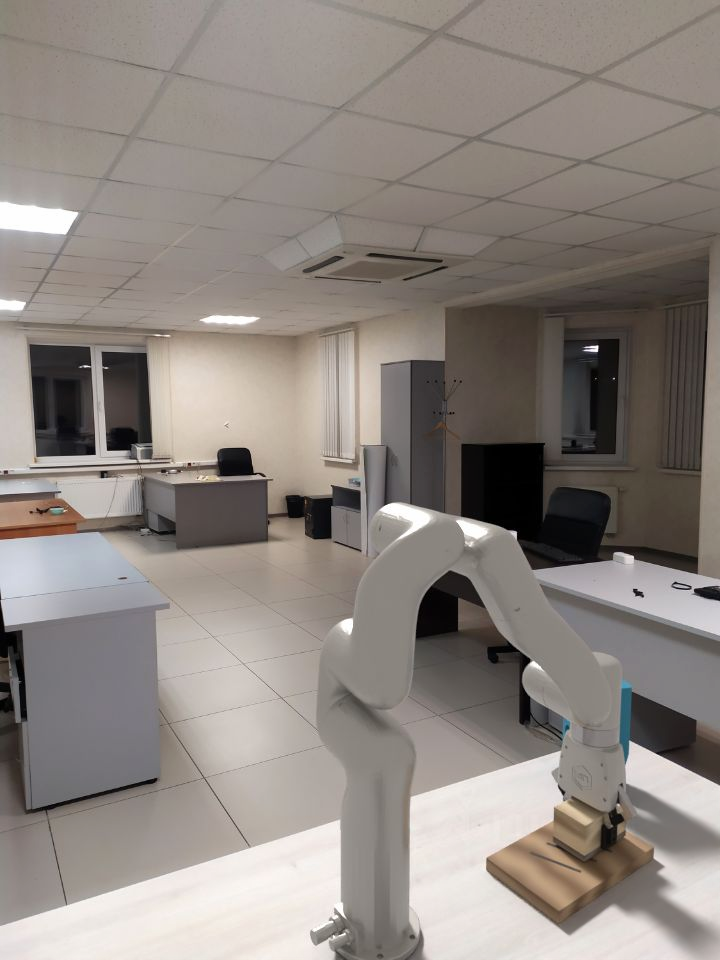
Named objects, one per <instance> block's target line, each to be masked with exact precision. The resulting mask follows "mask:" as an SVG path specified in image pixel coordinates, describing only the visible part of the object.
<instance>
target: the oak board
mask: <svg viewBox="0 0 720 960" xmlns="http://www.w3.org/2000/svg"><path fill="white" fill-rule="evenodd" d="M553 823H554V820H552V821H550V822H548V823H546V824H545V825H543V826H541V827H540V828H537V829H535V830H534V831H532V832H531V833H529V834H527V835H525V836H523V837H521V838H520V839H517V840H515V841H514V842H512V843H511V844H509V845H507V846H505V847H504V848H501V849H499V850H498V851H495V852H494V853H493V854H490V855H488V856H487V857H486V859H485V870H486V871H488V873H490V874H491V875H493V876H494V877H495V878H497V879H498V880H499V881H501V882H502V883H503V884H505V886H507V887H509V888H510V889H512V890H513V892H515V893H517V894H518V895H520V897H521V898H523V899H524V900H526V901H527V902H528V903H530V904H531V905H533V907H535V908H536V909H538V910H539V911H540V912H542V913H543V914H545V915H546V916H547V917H548V918H549V919H551V920H552V921H554V922H555V923H556V924H557V925H559V924H561V923H562V922H564V921H565V920H567V919H569V918H570V917H571V916H573V915H574V914H575V913H577V912H579V910H581V909H583V908H584V907H586V906H587V905H588V904H590V903H591V902H592V901H594V900H595V899H597V898H598V897H599V896H601V895H603V894H604V893H606V892H607V891H609V890H610V889H611V888H613V887H614V886H616V885H617V884H618V883H620V882H622V881H623V880H625V879H626V878H627V877H628V876H630V875H632V874H633V873H634V872H636V871H637V870H639V869H641V868H642V867H643V866H645V865H646V864H648V863H649V862H650V861H652V860H654V857H655V846H653V845H652V844H650V843H648V842H646V841H645V840H643V839H641V838H639V837H637V836H635V835H634V834H632V833H631V832H629V831H627V830H626V836H624V837H622V838H621V839H619V840H618V841H617V842H616V843H615V844H614V845H613V846H611V847H609V848H608V849H606V850H602V851H600V852H599V853H597V854H596V855H594V856H593V857H591V858H589V859H588V860H586V861H585V862H584V861H582V860H581V859H579V858H578V857H576V856H574V855H573V854H571V853H570V852H568V851H567V850H565V849H563V848H562V847H560V846H559V845H557V844H556V843H554V842H553Z"/></svg>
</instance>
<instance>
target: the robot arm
mask: <svg viewBox="0 0 720 960" xmlns="http://www.w3.org/2000/svg"><path fill="white" fill-rule="evenodd" d="M369 539H370V542H371V544H372V546H373V548H374V549H375V551H376V552H378V554H379V555H378V556H376V557H375V558H374V560H373V561H372V562H371V564H370V565H369V566H368V567H367V569H366V570H365V572H364V573H363V574H362V576H361V579H360V581H359V584H358V586H357V589H356V594H355V601H354V608H353V615H352V617H350V618H345V619H343V620H341V621H340V622H338V623H336V624H335V625H334V626H332V628H331V629H330V630H329V631H328V633H327V634H326V636H325V638H324V639H323V643H322V645H321V647H320V648H321V649H320V653H319V660H318V662H319V663H318V677H317V692H316V710H315V711H316V712H315V721H316V722H315V723H316V730H317V735H318V737H319V739H320V741H321V743H322V744H323V746H324V747H325V749H326V750H327V751H328V752H329V753H330V754H331V756H332V757H333V758H334V759H335V760H336V762H337V763H338V764H339V766H341V768H342V770H343V771H344V774H345V777H346V786H345V790H344V793H343V796H342V799H341V802H340V804H341V805H340V813H339V814H340V818H339V821H340V822H339V827H340V828H339V829H340V830H339V831H340V902H338V903H337V904H334V905H333V911H334V912H333V913H332V914H331V916H330V917H328V922H326V923H322V924H319V925H318V926H315V927H314V928H312V929H310V930H309V936H310V939H311V942H312V943H313V945H314V946H316V947H317V946H318V945H320V944H322V943H324V942H326V941H327V940H328V946H329V949H330V950H331V951H332V952H337V953H339V955H340V956H341V957H343V958H344V959H346V960H406V959H408V958H409V957H410V956H411V955H412V954H413V953H414V952H415V951H416V949H417V947H418V945H419V943H420V940H421V923H420V919H419V917H418V914H417V912H416V911H415V910H414V909H413V907H412V906H411V905H410V887H411V886H410V883H411V882H410V878H411V876H410V868H411V867H410V866H411V863H410V862H411V861H410V860H411V858H410V857H411V852H410V851H411V824H410V823H411V797H412V791H413V784H414V780H415V775H416V769H417V764H418V753H417V752H418V751H417V747H416V744H415V742H414V740H413V738H412V736H411V734H410V732H409V731H408V730H407V729H406V727H405V726H404V725H403V724H402V722H400V720H398V719H397V718H395V716H393V715H392V714H391V713H390V712H388V710H392V709H395V708H398V707H399V706H400V705H402V704H403V702H404V701H405V700H406V699H407V697H408V696H409V693H410V690H411V687H412V682H413V674H414V663H415V661H414V660H415V648H416V636H417V635H416V633H417V631H416V630H417V622H418V615H419V609H420V605H421V603H422V600H423V598H424V596H425V594H426V593H427V591H428V590H429V589H430V588H431V586H433V585H434V583H435V582H436V581H437V580H439V579H440V578H442V576H444V575H445V574H446V573H448V572H449V571H451V572H454V573H457V574H459V575H462V576H465V577H467V578H468V579H469V580H470V581H471V583H472V585H473V587H474V588H475V590H476V593H477V594H478V595H479V597H480V599H481V601H482V603H483V605H484V607H485V609H486V610H487V612H488V614H489V616H490V619H491V620H492V622H493V624H494V625H495V627H496V629H497V630H498V632H499V633H500V634H501V635H502V636H503V637H504V638H505V639H506V640H507V641H508V642H509V643H510V644H511V645H512V646H513V647H514V648H516V650H519V652H521V653H522V654H523V655H525V656H526V657H527V658H529V659H530V660H531V661H530V662H529V663H528V664H527V665H526V666H525V667H524V670H523V672H522V678H521V683H522V686H523V688H524V690H525V692H526V693H527V695H528V696H529V697H530V698H531V699H533V700H534V701H535V702H536V703H538V704H540V705H542V706H543V707H545V708H547V709H549V710H550V711H553V712H555V713H556V714H558V715H560V717H564V718H566V720H568V721H569V722H570V729H569V730H567V731H566V733H565V736H564V740H563V739H562V743H563V744H561V750H560V754H559V763H558V767H556V768H555V769H553V770H552V771H551V776H552V777H553V779H554V781H555V783H556V784H557V788H558V789H559V792H560V793H561V795H562V803H563V802H564V801H566V800H568V799H570V798H572V797H575V798H577V799H579V800H581V801H583V802H584V803H586V804H588V805H590V806H592V807H593V808H595V809H597V810H599V811H601V812H602V815H603V819H604V823H605V824H604V825H602V829H601V849H603V850H606V849H608V848H609V847H611V846H613V845H614V844H615V843H616V842H617V827H618V824H620V823H622V822H624V821H626V822H627V821H629V820H631V819H633V818H635V817H636V816H638V812H637V810H636V808H635V807H634V805H633V803H632V801H631V800H630V798H629V796H628V795H627V774H626V773H627V772H626V771H627V770H626V765H625V759H624V752H623V747H622V745H621V744H620V743H619V734H620V711H621V689H622V679H623V667H622V663H621V662H620V661H619V659H617V658H616V657H615V656H613V655H611V654H608V653H603V652H599V651H592V650H591V649H590V648H589V646H588V645H587V644H586V643H585V642H584V640H583V639H582V638H581V637H580V636H579V635H578V633H576V631H575V630H574V629H573V628H572V627H571V626H570V625H569V624H568V622H566V620H565V619H564V618H563V617H562V616H561V615H560V614H559V612H558V611H557V610H555V609H554V608H553V607H552V605H551V604H550V602H549V601H548V598H547V597H546V595H545V592H544V591H543V589H542V587H541V585H540V583H539V581H538V579H537V577H536V575H535V572H534V571H533V568H532V567H531V564H530V563H529V561H528V559H527V557H526V555H525V554H524V551H523V549H522V547H521V545H520V544H519V542H518V540H517V539H516V537H515V535H513V534H512V533H511V532H510V531H509V530H507V529H506V528H504V527H501V526H499V525H496V524H492V523H488V522H484V521H480V520H477V519H473V518H468V517H463V516H459V515H455V514H449V513H444V512H441V511H437V510H434V509H429V508H426V507H422V506H421V507H420V506H417V505H414V504H409V503H407V502H402V501H401V502H400V501H399V502H398V501H397V502H392V503H389V504H386V505H384V506H382V507H381V508H379V509H378V510H377V512H376V513H375V514H374V515H373V518H371V521H370V524H369ZM617 804H620V806H621V807H622V809H623V812H621V813H620V812H619V809H618V805H617ZM610 811H611V813H612V817H611V814H610ZM329 938H330V939H329Z"/></svg>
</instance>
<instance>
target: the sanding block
mask: <svg viewBox="0 0 720 960" xmlns="http://www.w3.org/2000/svg"><path fill="white" fill-rule="evenodd" d="M617 805H618V809H619V812H620V813H621V812H623V809H622V807H621V806H620V804H617ZM610 814H611V817H612V813H611V811H610ZM553 821H554V823H553V842H554V843H556V844H557V845H559V846H560V847H562V848H563V849H565V850H567V851H568V852H570V853H571V854H573V855H574V856H576V857H578V858H579V859H581V860H582V861H584V862H585V861H586V860H588V859H589V858H591V857H593V856H594V855H596V854H597V853H599V852H600V851H602V850H603V849H601V829H602V825H604V824H605V823H604V819H603V815H602V812H601V811H599V810H597V809H595V808H593V807H592V806H590V805H588V804H586V803H584V802H583V801H581V800H579V799H577V798H575V797H572V798H570V799H568V800H566V801H564V802H563V801H562V802H561V803H559V804H557V805H555V806H554V807H553ZM626 831H627V821H624V822H622V823H620V824H618V827H617V841H618V840H619V839H621V838H622V837H624V836H626Z"/></svg>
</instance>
